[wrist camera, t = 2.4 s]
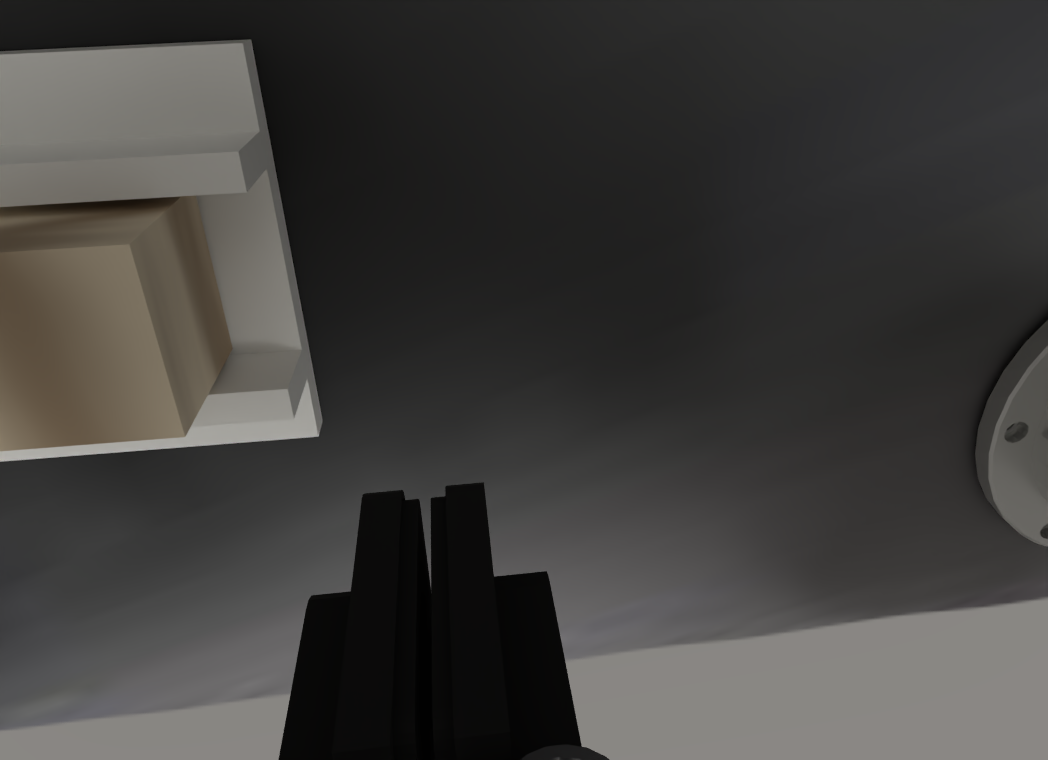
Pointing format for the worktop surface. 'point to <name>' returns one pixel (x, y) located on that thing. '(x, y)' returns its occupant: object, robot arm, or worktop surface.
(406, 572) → the robot arm
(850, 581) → the worktop surface
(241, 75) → the chute
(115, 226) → the block
